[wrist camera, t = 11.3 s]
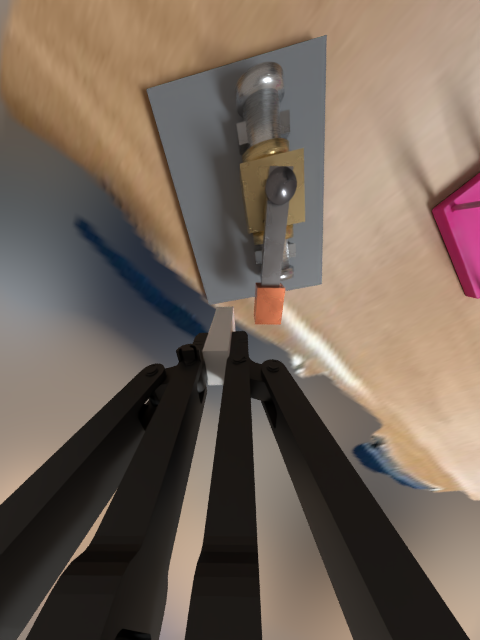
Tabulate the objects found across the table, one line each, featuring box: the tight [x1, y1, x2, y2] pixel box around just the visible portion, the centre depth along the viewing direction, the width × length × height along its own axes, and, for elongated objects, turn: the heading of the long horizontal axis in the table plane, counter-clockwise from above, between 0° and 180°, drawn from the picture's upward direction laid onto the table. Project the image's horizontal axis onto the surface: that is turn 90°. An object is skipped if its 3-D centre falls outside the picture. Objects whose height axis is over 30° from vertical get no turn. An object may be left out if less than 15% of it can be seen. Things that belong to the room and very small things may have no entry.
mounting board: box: [146, 35, 327, 305], centre depth 23 cm, size 24×18×2 cm
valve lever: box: [254, 166, 297, 324], centre depth 18 cm, size 15×3×3 cm, turn 179°
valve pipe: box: [235, 62, 305, 281], centre depth 20 cm, size 18×6×6 cm, turn 11°
